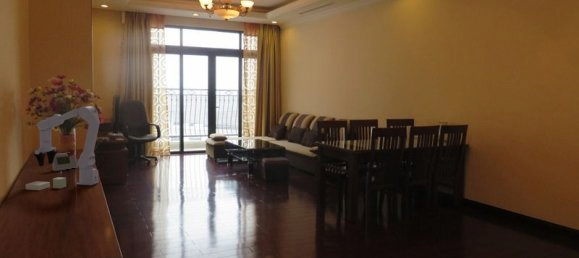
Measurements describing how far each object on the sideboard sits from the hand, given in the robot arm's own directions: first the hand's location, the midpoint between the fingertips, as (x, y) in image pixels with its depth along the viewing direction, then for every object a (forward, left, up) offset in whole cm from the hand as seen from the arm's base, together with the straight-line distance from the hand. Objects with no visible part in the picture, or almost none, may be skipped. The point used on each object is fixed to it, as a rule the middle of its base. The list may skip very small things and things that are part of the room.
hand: (46, 164), depth 241 cm
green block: (-15, +9, -10) cm, 20 cm away
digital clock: (+12, -33, -10) cm, 37 cm away
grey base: (-6, +14, -10) cm, 18 cm away
